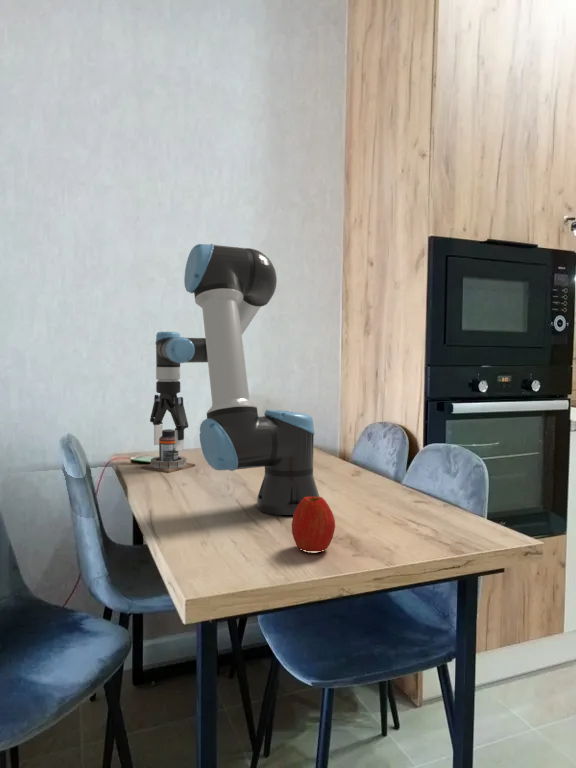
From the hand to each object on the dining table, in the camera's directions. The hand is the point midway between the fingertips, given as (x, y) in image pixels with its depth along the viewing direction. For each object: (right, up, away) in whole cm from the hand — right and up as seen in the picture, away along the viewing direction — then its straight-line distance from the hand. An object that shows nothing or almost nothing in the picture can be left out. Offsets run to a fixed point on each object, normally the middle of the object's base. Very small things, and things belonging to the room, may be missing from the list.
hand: (168, 447), depth 174 cm
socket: (0, -6, 0) cm, 6 cm away
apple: (+43, -11, -71) cm, 84 cm away
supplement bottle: (0, -6, 0) cm, 6 cm away
